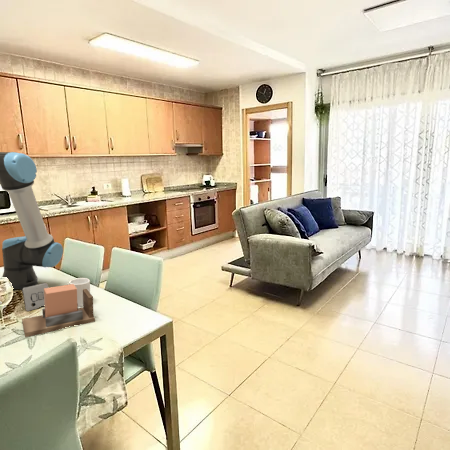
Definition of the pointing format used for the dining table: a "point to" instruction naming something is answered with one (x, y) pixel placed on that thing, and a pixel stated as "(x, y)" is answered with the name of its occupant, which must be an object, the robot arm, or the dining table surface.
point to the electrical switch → (34, 296)
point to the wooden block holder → (60, 318)
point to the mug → (80, 288)
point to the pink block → (60, 300)
